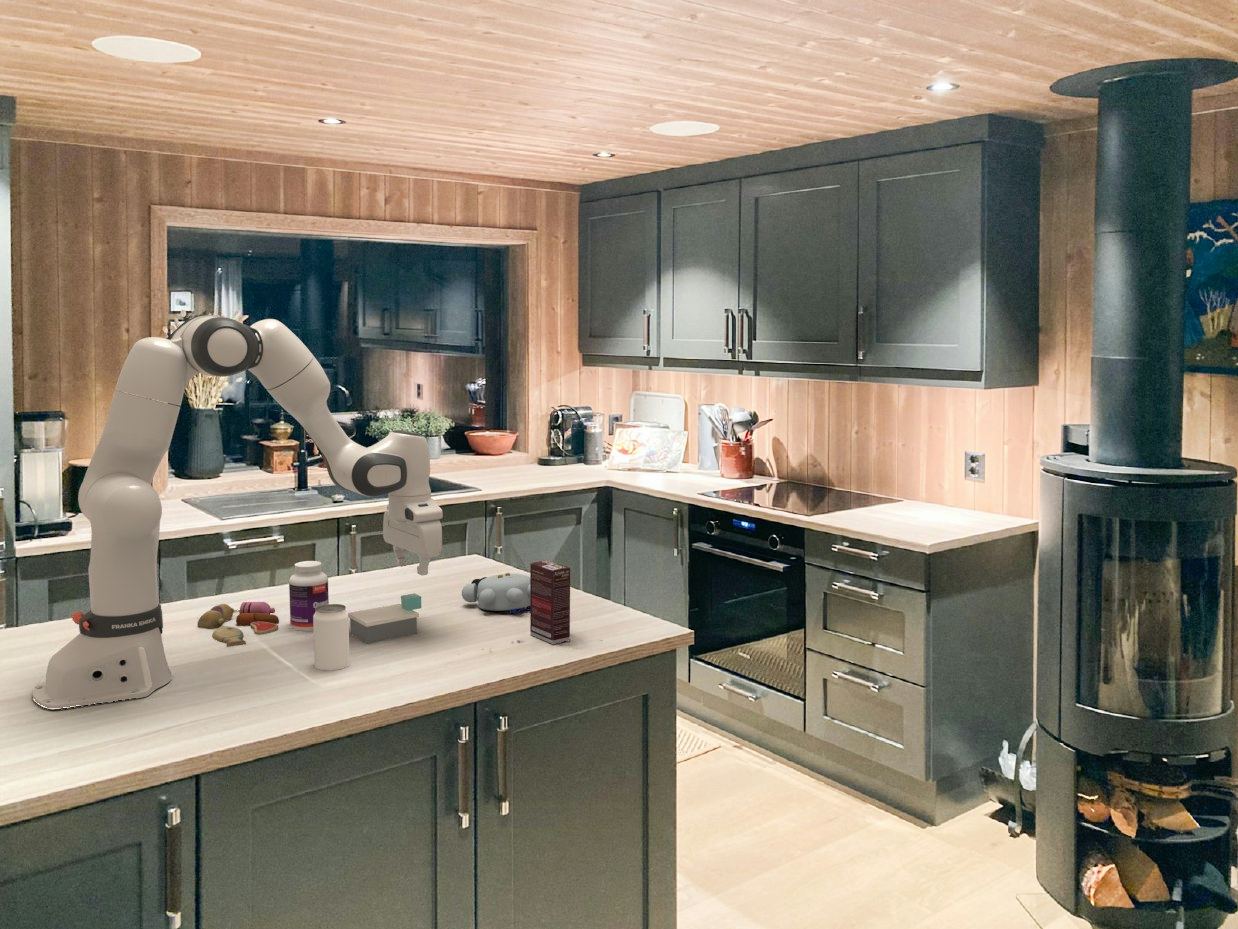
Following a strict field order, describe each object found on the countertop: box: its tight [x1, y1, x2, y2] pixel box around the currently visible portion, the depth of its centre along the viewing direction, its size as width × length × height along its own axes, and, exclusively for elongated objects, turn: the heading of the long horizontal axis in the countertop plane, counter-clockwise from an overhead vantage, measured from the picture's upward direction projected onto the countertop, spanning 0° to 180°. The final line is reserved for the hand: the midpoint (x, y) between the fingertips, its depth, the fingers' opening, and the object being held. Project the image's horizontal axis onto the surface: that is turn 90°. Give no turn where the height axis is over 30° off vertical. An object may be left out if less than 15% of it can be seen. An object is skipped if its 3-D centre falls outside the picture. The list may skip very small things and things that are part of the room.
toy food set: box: [197, 601, 280, 648], centre depth 220 cm, size 26×16×4 cm, turn 41°
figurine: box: [461, 572, 530, 615], centre depth 238 cm, size 17×8×20 cm
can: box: [312, 603, 350, 671], centre depth 193 cm, size 6×6×12 cm
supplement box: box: [529, 559, 571, 645], centre depth 213 cm, size 9×5×16 cm, turn 39°
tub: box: [349, 617, 418, 645], centre depth 213 cm, size 11×8×4 cm
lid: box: [347, 592, 422, 627], centre depth 213 cm, size 14×9×4 cm, turn 129°
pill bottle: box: [288, 560, 330, 632], centre depth 218 cm, size 8×8×14 cm
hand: (412, 570), depth 216 cm, fingers open, 8 cm apart
